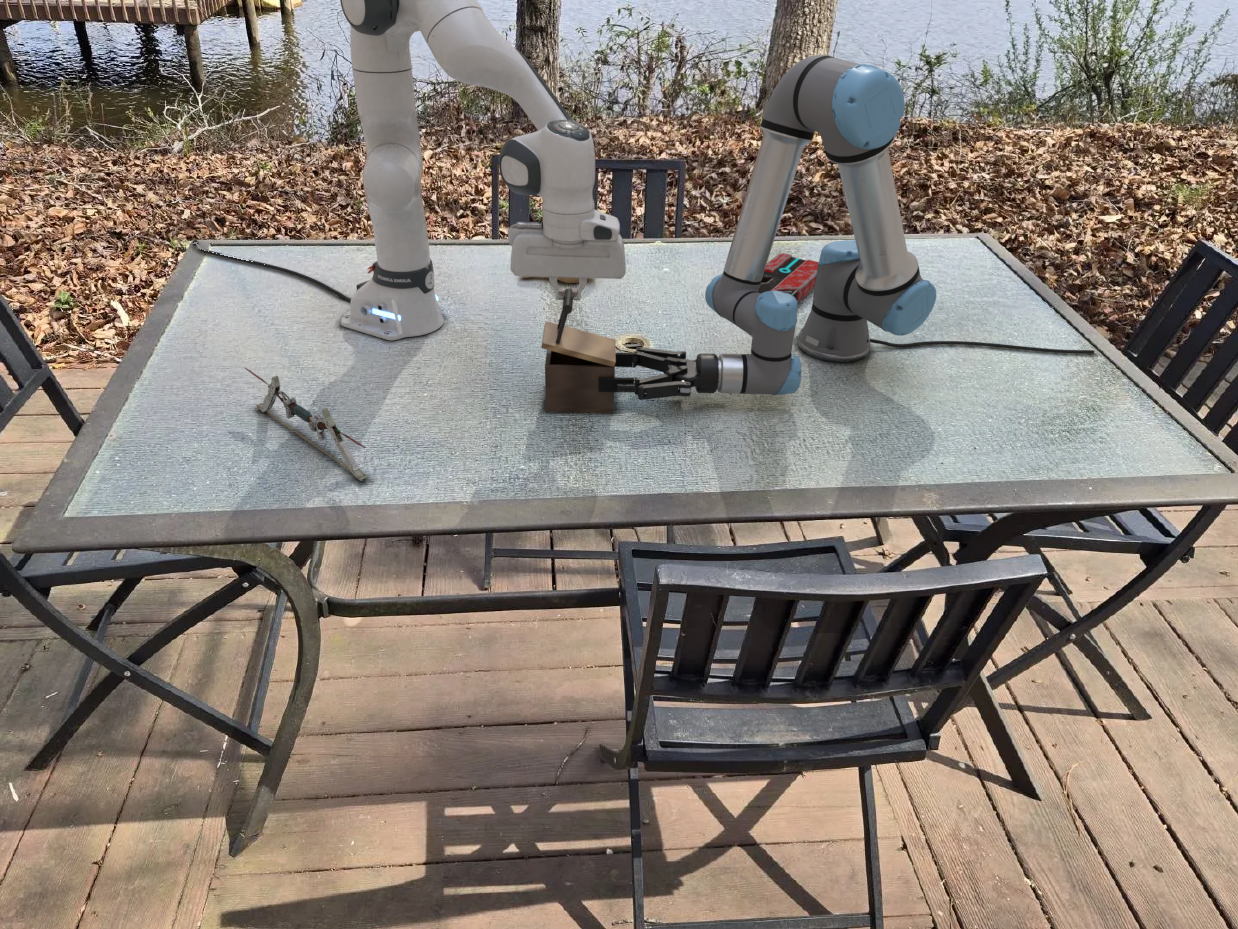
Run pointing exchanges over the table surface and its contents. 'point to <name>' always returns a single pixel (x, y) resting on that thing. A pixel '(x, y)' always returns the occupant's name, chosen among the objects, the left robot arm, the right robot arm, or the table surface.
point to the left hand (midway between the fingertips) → (568, 298)
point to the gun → (789, 276)
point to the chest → (576, 385)
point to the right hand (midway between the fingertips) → (598, 371)
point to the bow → (311, 423)
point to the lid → (577, 339)
